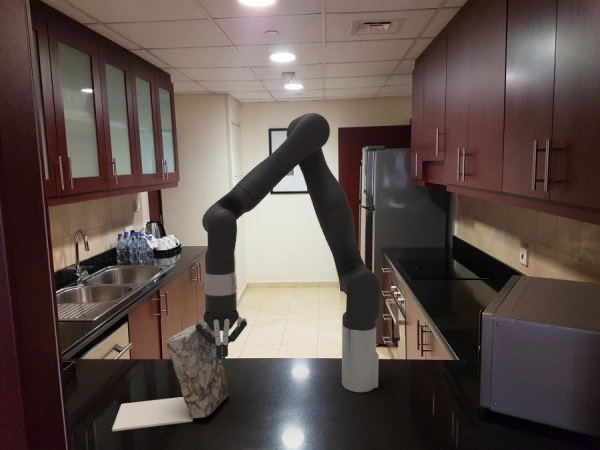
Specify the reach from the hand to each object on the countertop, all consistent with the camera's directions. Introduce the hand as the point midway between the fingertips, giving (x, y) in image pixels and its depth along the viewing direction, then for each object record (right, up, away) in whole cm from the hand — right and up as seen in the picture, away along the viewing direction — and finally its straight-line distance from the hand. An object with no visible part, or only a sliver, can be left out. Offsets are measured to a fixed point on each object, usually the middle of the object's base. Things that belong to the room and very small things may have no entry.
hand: (222, 358), depth 106 cm
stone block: (-3, -13, +1) cm, 13 cm away
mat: (-16, -14, 0) cm, 21 cm away
